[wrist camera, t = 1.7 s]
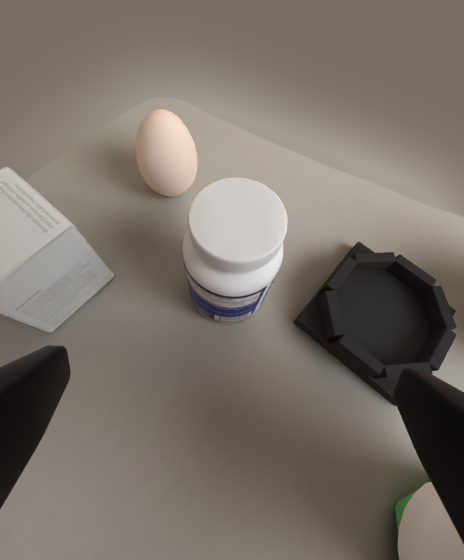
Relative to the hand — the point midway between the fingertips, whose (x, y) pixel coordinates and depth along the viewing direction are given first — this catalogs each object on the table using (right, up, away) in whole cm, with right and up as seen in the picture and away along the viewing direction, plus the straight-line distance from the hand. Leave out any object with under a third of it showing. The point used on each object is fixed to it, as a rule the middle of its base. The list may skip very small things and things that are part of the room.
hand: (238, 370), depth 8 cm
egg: (-6, +11, +18) cm, 22 cm away
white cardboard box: (-13, +2, +14) cm, 19 cm away
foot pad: (+11, -1, +15) cm, 18 cm away
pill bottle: (-1, +2, +15) cm, 15 cm away
